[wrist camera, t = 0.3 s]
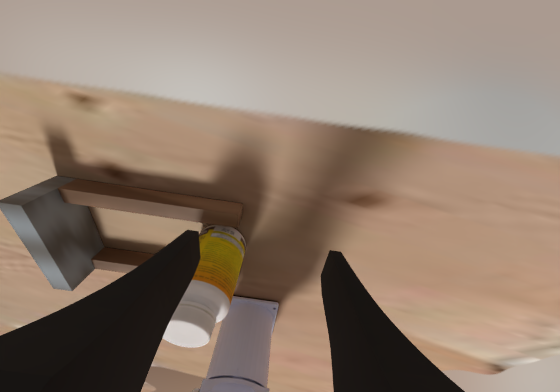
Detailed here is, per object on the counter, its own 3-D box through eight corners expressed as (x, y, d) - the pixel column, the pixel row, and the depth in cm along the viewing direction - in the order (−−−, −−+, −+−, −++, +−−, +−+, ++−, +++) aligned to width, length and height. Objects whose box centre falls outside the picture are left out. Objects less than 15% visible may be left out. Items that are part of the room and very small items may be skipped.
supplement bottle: (208, 214, 22) (153, 304, 14) (254, 234, 24) (231, 330, 15) (193, 246, 25) (139, 339, 16) (236, 263, 26) (207, 359, 17)
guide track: (238, 274, 27) (228, 312, 23) (92, 253, 27) (53, 288, 22) (242, 203, 21) (229, 236, 17) (56, 175, 21) (-5, 201, 17)
